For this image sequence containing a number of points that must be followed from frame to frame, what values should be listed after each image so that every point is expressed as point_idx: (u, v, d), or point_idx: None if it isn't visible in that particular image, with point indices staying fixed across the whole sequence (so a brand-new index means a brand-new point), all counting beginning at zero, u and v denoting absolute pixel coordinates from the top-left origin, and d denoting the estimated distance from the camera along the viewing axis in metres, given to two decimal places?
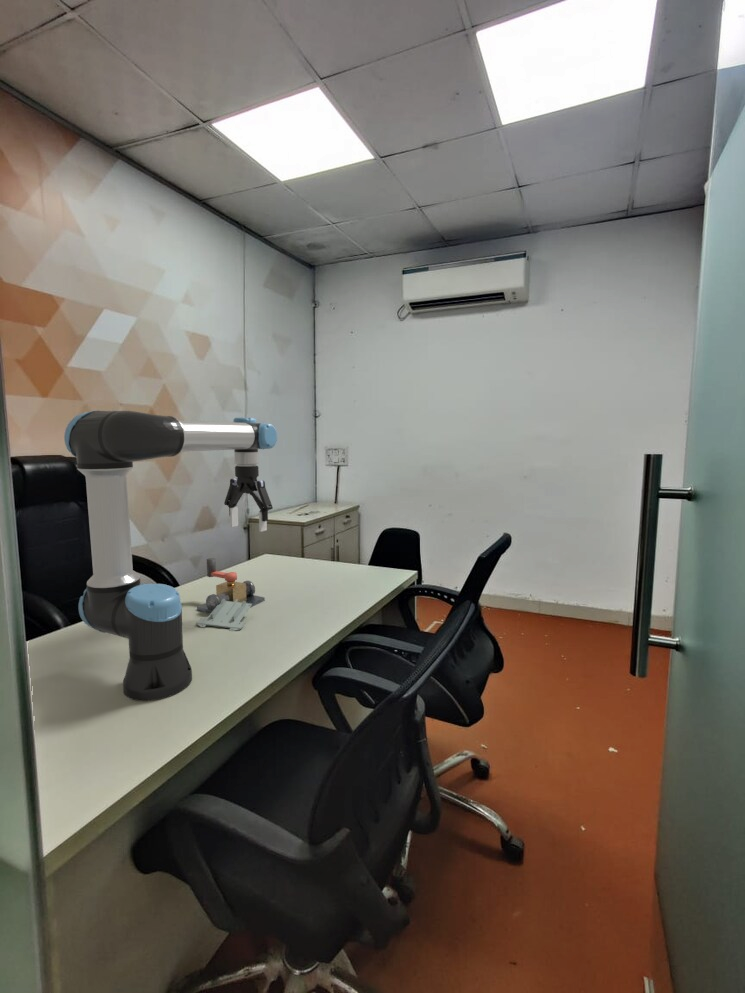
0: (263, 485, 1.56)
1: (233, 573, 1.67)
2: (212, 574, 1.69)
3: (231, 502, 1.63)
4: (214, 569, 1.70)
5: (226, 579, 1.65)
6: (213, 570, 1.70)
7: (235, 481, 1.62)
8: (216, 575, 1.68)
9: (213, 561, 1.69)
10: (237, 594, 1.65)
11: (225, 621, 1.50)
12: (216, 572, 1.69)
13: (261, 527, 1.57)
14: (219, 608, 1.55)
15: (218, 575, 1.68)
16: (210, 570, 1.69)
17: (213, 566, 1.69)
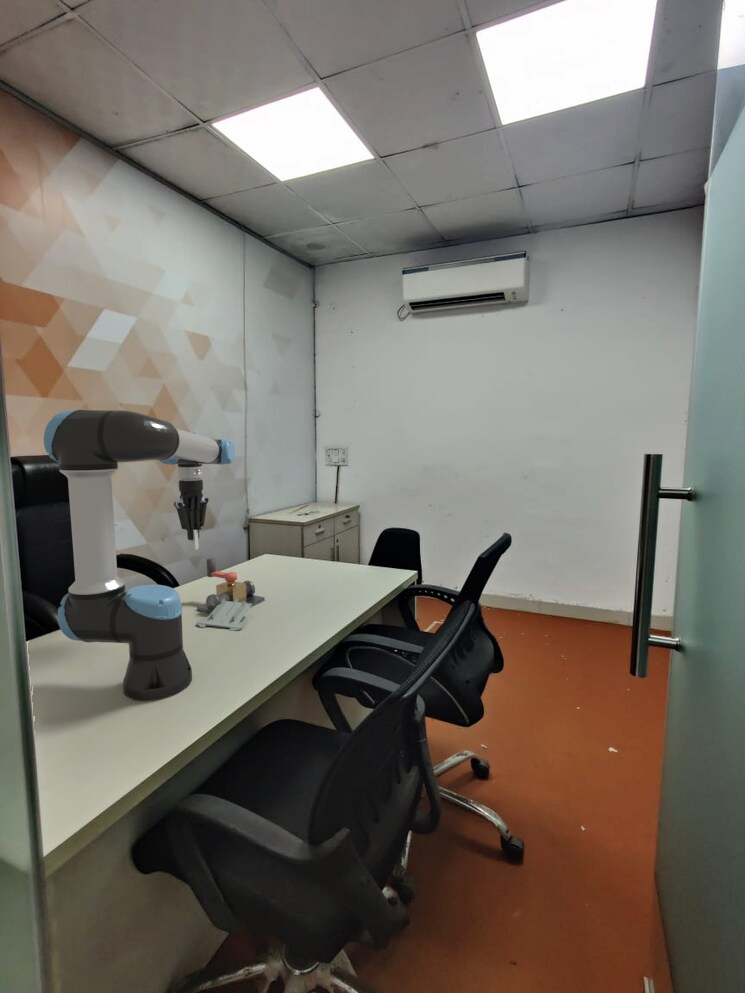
0: (179, 507, 1.56)
1: (233, 573, 1.67)
2: (212, 574, 1.69)
3: None
4: (214, 569, 1.70)
5: (226, 579, 1.65)
6: (213, 570, 1.70)
7: None
8: (216, 575, 1.68)
9: (213, 561, 1.69)
10: (237, 594, 1.65)
11: (225, 621, 1.50)
12: (216, 572, 1.69)
13: (190, 545, 1.63)
14: (219, 608, 1.55)
15: (218, 575, 1.68)
16: (210, 570, 1.69)
17: (213, 566, 1.69)
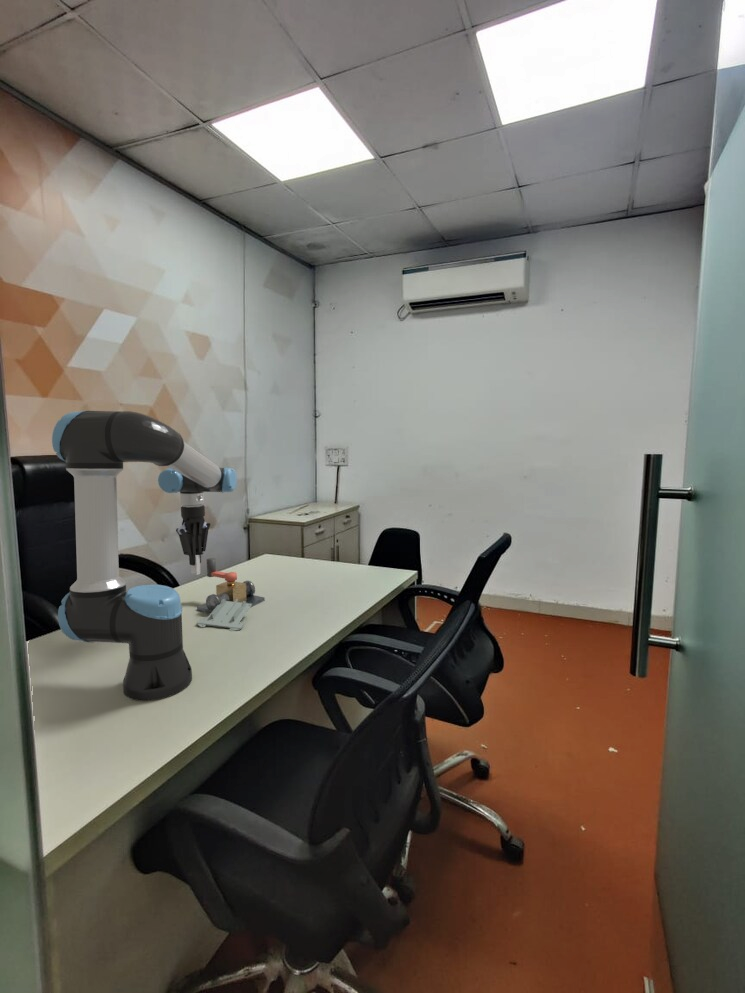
0: (181, 534, 1.57)
1: (233, 573, 1.67)
2: (212, 574, 1.69)
3: None
4: (214, 569, 1.70)
5: (226, 579, 1.65)
6: (213, 570, 1.70)
7: None
8: (216, 575, 1.68)
9: (213, 561, 1.69)
10: (237, 594, 1.65)
11: (225, 621, 1.50)
12: (216, 572, 1.69)
13: (191, 570, 1.64)
14: (219, 608, 1.55)
15: (218, 575, 1.68)
16: (210, 570, 1.69)
17: (213, 566, 1.69)
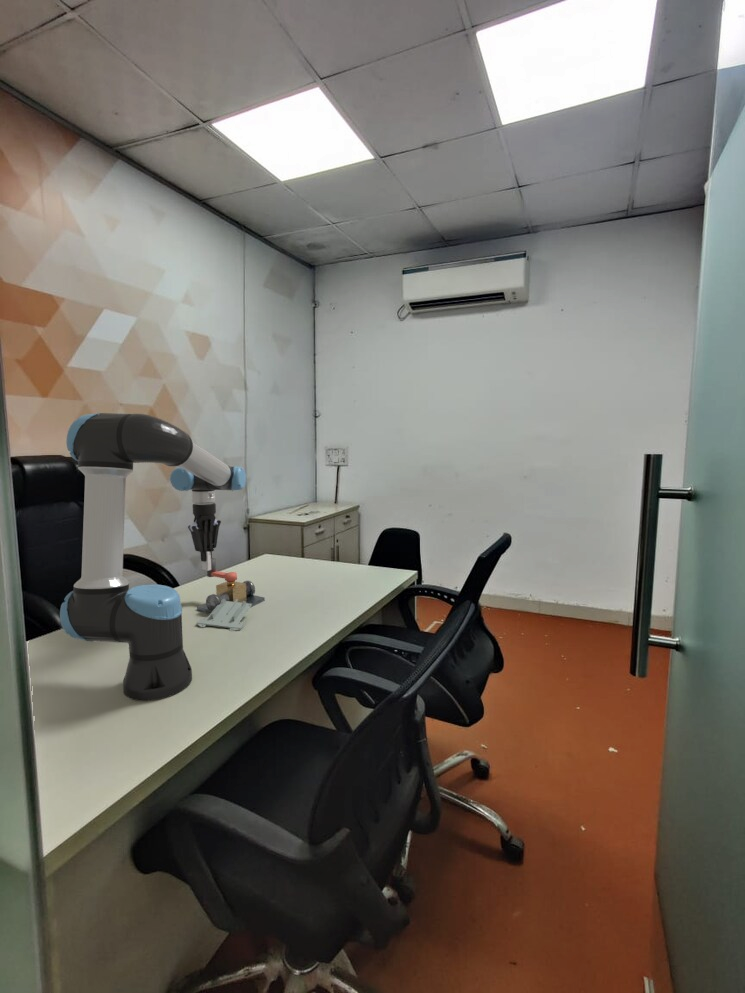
0: (193, 531, 1.61)
1: (233, 573, 1.67)
2: (212, 574, 1.69)
3: None
4: (214, 569, 1.70)
5: (226, 579, 1.65)
6: (213, 570, 1.70)
7: None
8: (216, 575, 1.68)
9: (213, 561, 1.69)
10: (237, 594, 1.65)
11: (225, 621, 1.50)
12: (216, 572, 1.69)
13: (203, 566, 1.68)
14: (219, 608, 1.55)
15: (218, 575, 1.68)
16: (210, 570, 1.69)
17: (213, 566, 1.69)
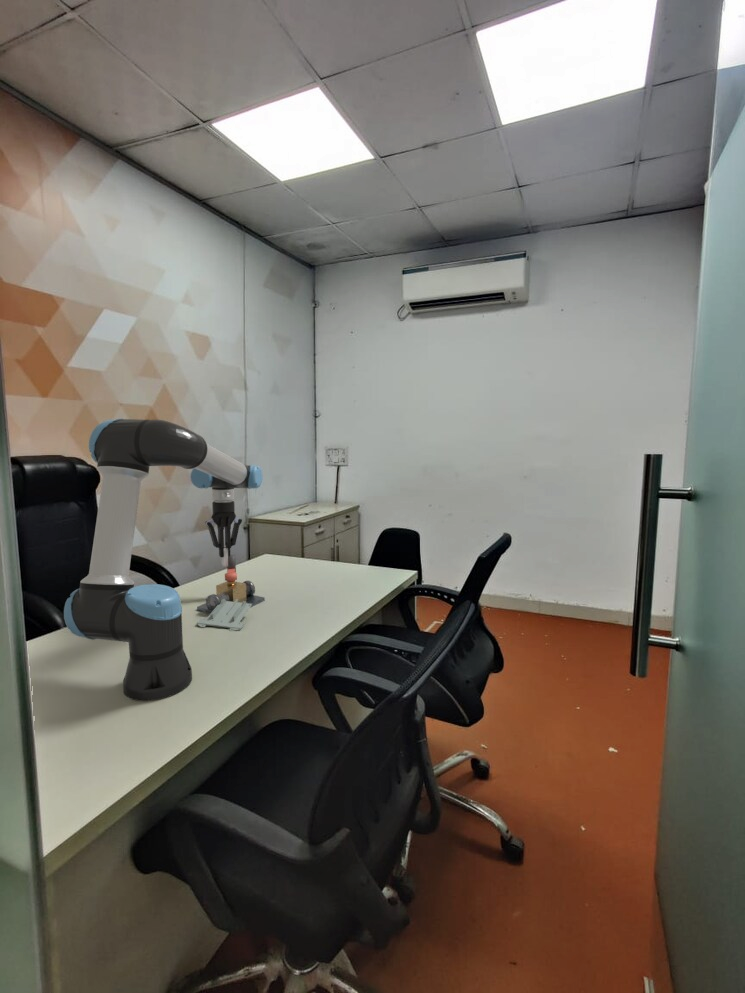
0: (208, 526, 1.68)
1: (233, 574, 1.66)
2: (227, 570, 1.73)
3: None
4: (231, 566, 1.74)
5: (225, 578, 1.66)
6: (230, 567, 1.74)
7: None
8: (227, 572, 1.72)
9: (230, 558, 1.73)
10: (237, 594, 1.65)
11: (225, 621, 1.50)
12: (230, 569, 1.73)
13: (222, 561, 1.74)
14: (219, 608, 1.55)
15: (227, 572, 1.71)
16: (227, 566, 1.74)
17: (230, 563, 1.73)
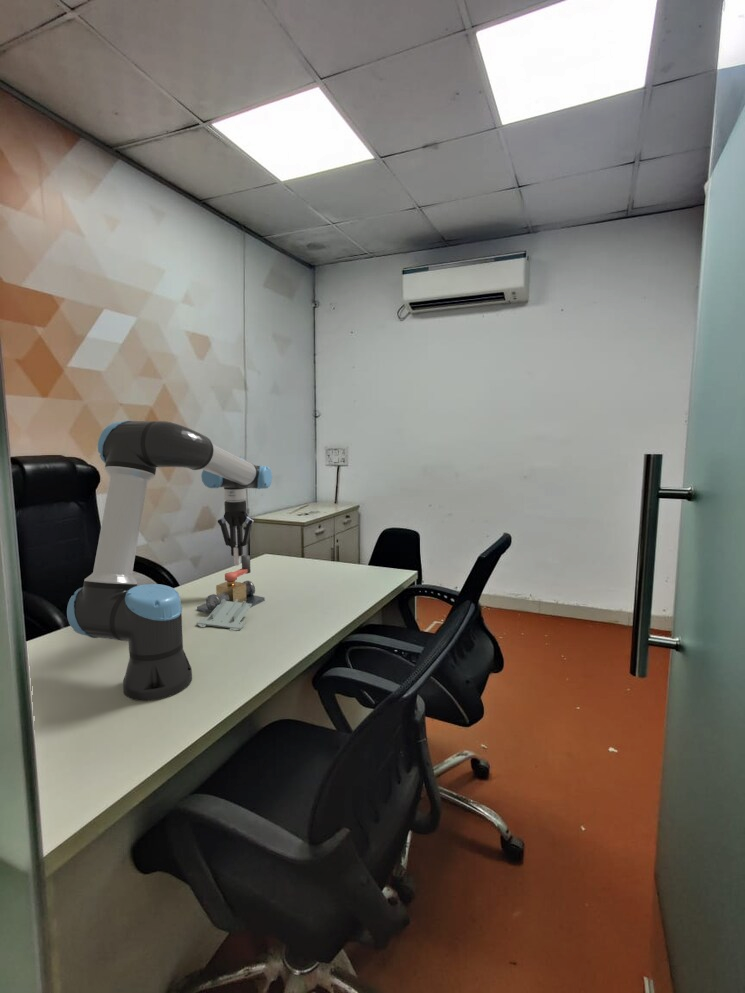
0: None
1: (231, 574, 1.66)
2: None
3: None
4: (243, 566, 1.73)
5: None
6: (242, 567, 1.74)
7: None
8: None
9: (242, 558, 1.73)
10: (237, 594, 1.65)
11: (225, 621, 1.50)
12: (241, 569, 1.73)
13: None
14: (219, 608, 1.55)
15: None
16: None
17: (242, 563, 1.73)
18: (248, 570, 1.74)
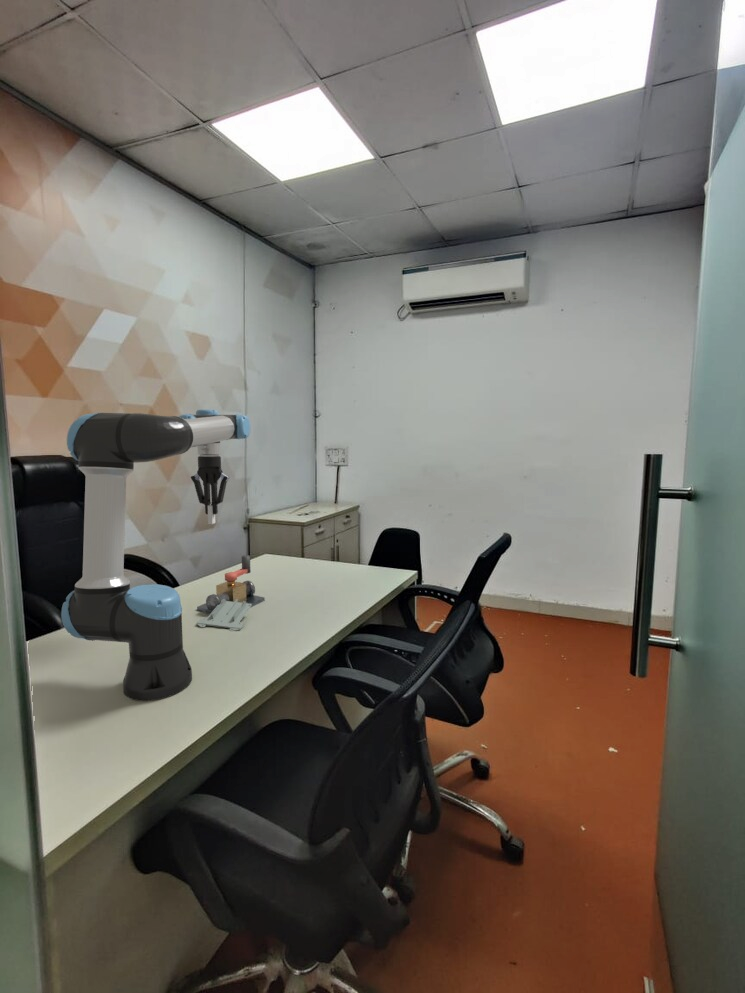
0: None
1: (231, 574, 1.66)
2: None
3: None
4: (243, 566, 1.73)
5: None
6: (242, 567, 1.74)
7: None
8: None
9: (242, 558, 1.73)
10: (237, 594, 1.65)
11: (225, 621, 1.50)
12: (241, 569, 1.73)
13: None
14: (219, 608, 1.55)
15: None
16: None
17: (242, 563, 1.73)
18: (248, 570, 1.74)
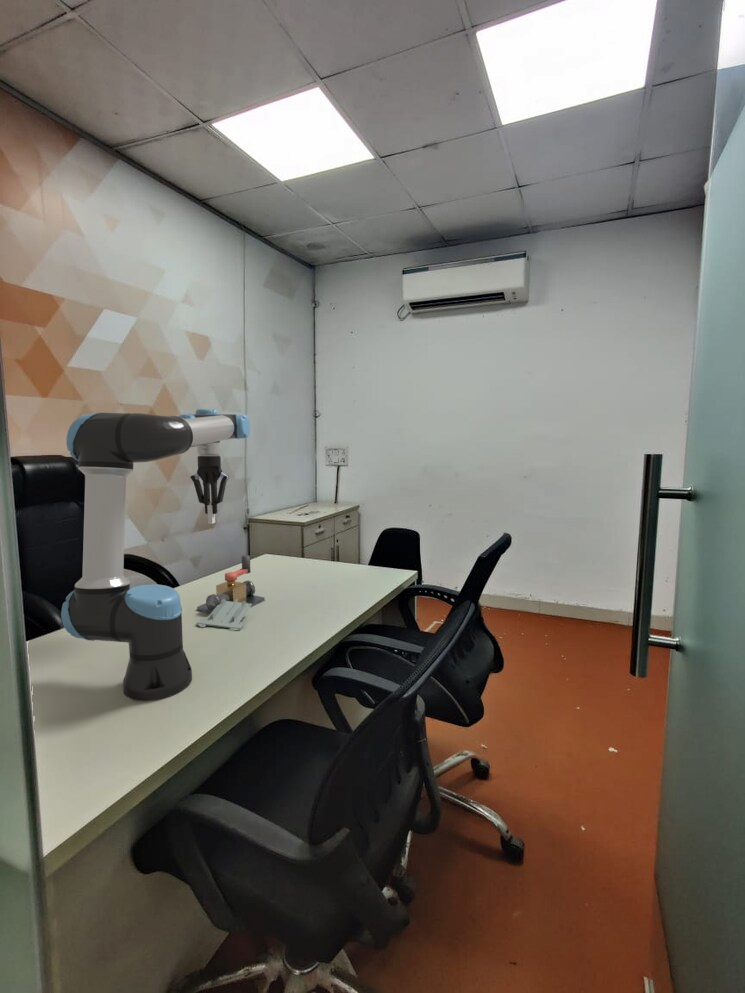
0: None
1: (231, 574, 1.66)
2: None
3: None
4: (243, 566, 1.73)
5: None
6: (242, 567, 1.74)
7: None
8: None
9: (242, 558, 1.73)
10: (237, 594, 1.65)
11: (225, 621, 1.50)
12: (241, 569, 1.73)
13: None
14: (219, 608, 1.55)
15: None
16: None
17: (242, 563, 1.73)
18: (248, 570, 1.74)
